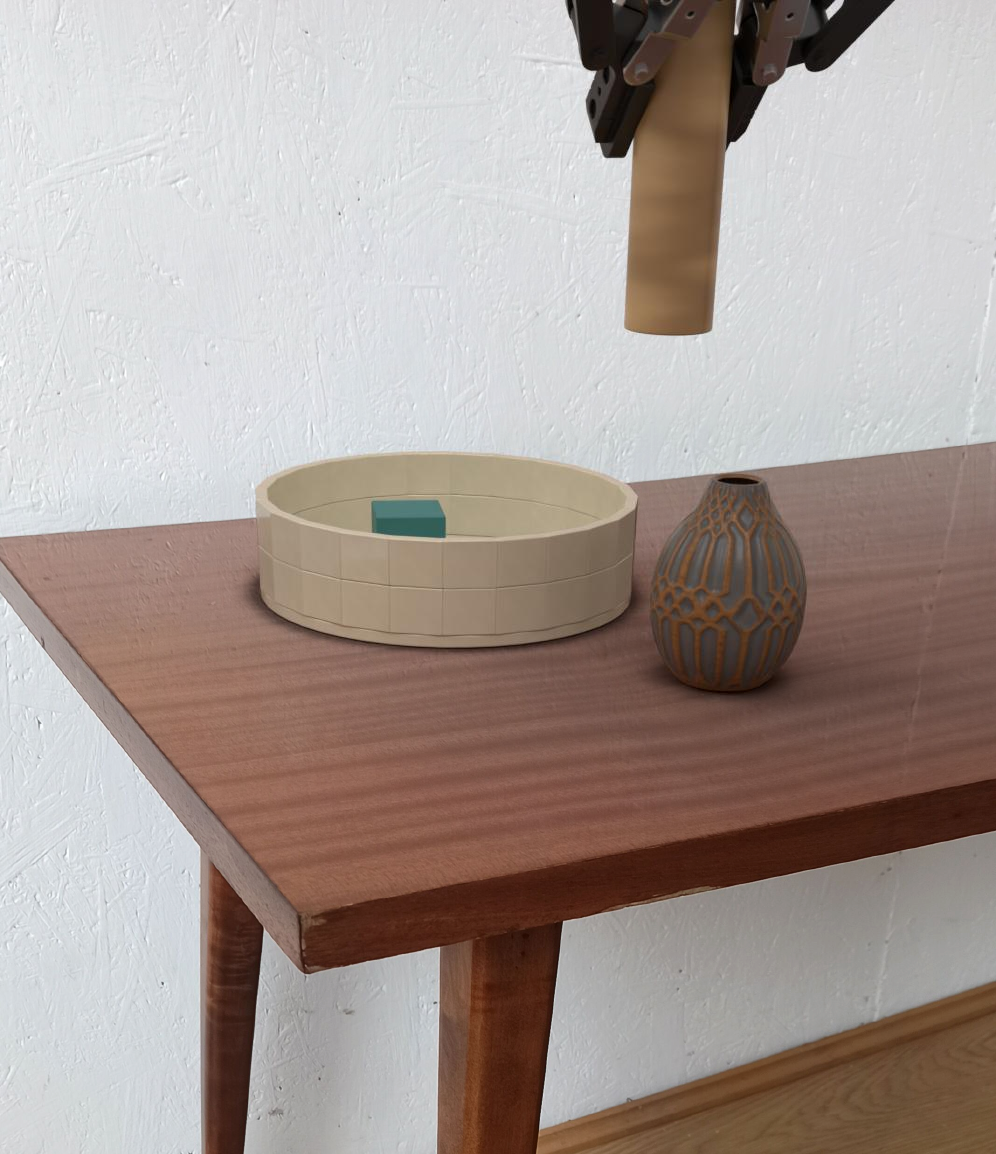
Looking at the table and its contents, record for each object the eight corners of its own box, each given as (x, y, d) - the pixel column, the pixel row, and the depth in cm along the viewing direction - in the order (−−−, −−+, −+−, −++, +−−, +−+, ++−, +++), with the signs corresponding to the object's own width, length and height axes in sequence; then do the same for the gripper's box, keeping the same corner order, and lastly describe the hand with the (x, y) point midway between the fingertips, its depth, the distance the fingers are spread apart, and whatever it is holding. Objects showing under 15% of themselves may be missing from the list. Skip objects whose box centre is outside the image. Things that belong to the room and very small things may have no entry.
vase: (826, 679, 78) (851, 481, 74) (733, 714, 74) (753, 506, 70) (708, 644, 82) (725, 454, 78) (613, 675, 78) (625, 476, 74)
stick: (712, 323, 68) (744, -109, 60) (711, 336, 65) (745, -116, 57) (626, 320, 68) (647, -110, 60) (621, 333, 65) (643, -117, 58)
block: (438, 567, 91) (438, 499, 89) (445, 585, 88) (446, 515, 86) (372, 568, 90) (371, 499, 89) (377, 586, 87) (376, 516, 86)
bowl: (640, 552, 97) (646, 460, 94) (618, 659, 80) (625, 550, 78) (305, 534, 98) (302, 443, 96) (218, 634, 82) (211, 528, 79)
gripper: (1034, -409, 51) (797, 56, 67) (595, -455, 47) (455, 52, 63) (1108, -205, 50) (848, 220, 66) (661, -234, 46) (501, 227, 62)
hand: (656, 136), depth 64 cm, fingers closed on stick, 3 cm apart
